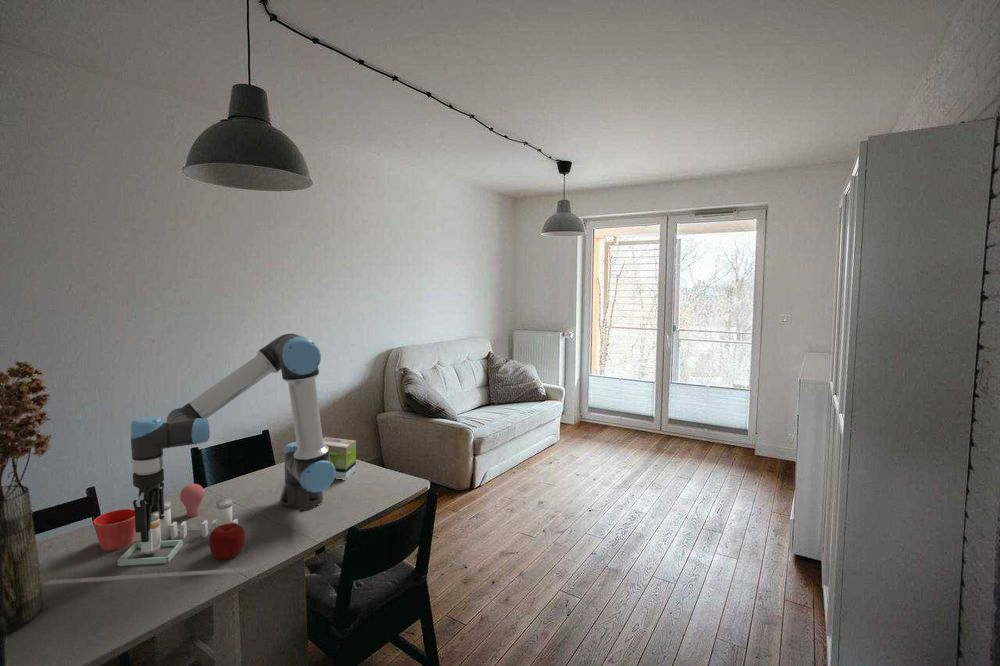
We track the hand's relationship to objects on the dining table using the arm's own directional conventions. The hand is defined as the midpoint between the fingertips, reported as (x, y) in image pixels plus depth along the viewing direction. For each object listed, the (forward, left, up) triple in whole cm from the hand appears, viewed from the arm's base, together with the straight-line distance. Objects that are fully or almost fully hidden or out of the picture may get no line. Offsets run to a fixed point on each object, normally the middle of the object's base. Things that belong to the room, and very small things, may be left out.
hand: (151, 546), depth 152 cm
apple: (-22, +2, -4) cm, 22 cm away
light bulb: (-2, -25, -4) cm, 25 cm away
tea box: (-45, -60, -4) cm, 75 cm away
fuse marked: (0, 0, -1) cm, 1 cm away
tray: (0, 0, -4) cm, 4 cm away
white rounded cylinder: (-17, -10, -3) cm, 20 cm away
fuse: (+1, -10, -3) cm, 10 cm away
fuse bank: (-8, -10, -4) cm, 13 cm away
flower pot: (+13, -8, -4) cm, 16 cm away
